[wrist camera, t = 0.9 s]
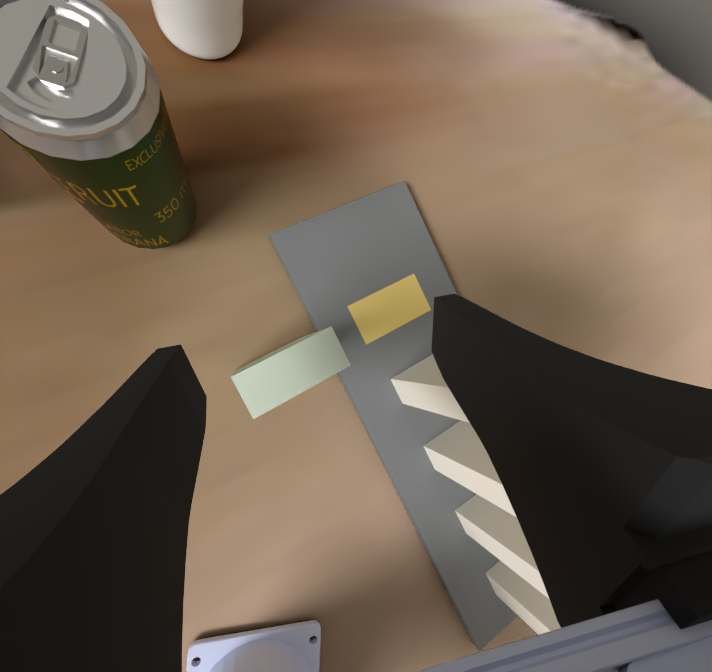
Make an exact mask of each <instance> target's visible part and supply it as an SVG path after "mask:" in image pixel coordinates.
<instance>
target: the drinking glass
mask: <svg viewBox="0 0 712 672" xmlns="http://www.w3.org/2000/svg"><path fill="white" fill-rule="evenodd" d="M151 2H152V6H153V9H154V13H155V16H156V19H157V22H158V24H159V26H160V28H161V30H162V31H163V33H164V34H165V36H166V37H167V38H168V39H169V40H170V41H171V42H172V43H173V44H174V45H175V46H176V47H177V48H179V49H180V50H181V51H183V52H185V53H187V54H189V55H191V56H194V57H197V58H201V59H218V58H222V57H225V56H227V55H228V54H230V53H231V52H232V51H233V50H234V49H235V48H236V47H237V45H238V44H239V42H240V39H241V36H242V31H243V0H151Z"/></svg>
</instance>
